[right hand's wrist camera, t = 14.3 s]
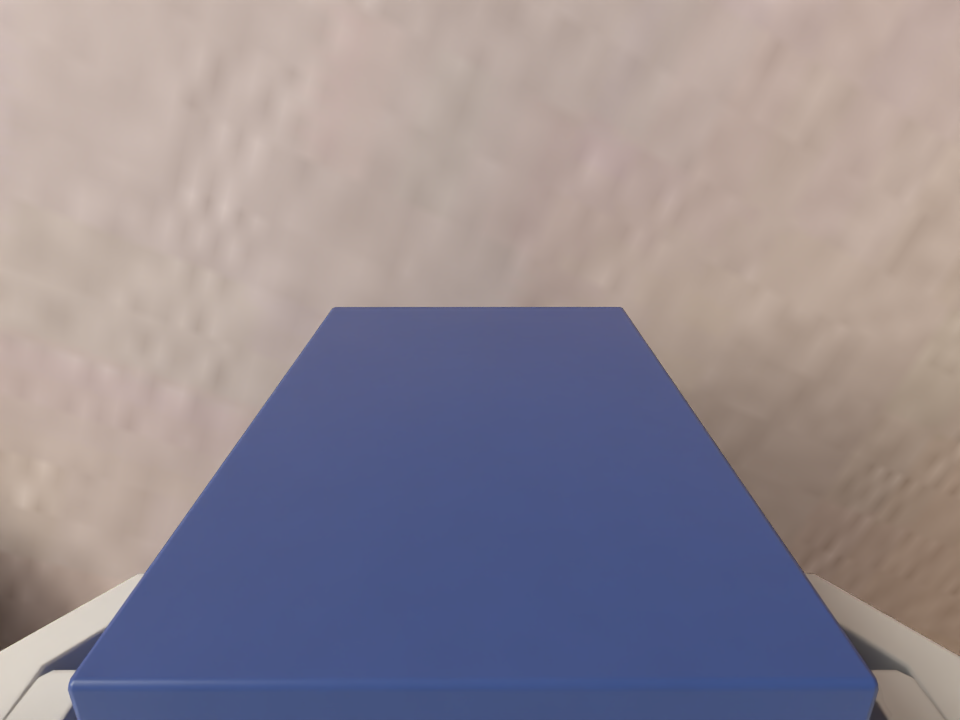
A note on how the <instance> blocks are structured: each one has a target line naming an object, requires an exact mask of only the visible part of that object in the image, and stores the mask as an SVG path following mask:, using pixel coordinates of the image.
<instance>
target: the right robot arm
mask: <svg viewBox="0 0 960 720" xmlns="http://www.w3.org/2000/svg"><path fill="white" fill-rule="evenodd" d="M802 571H803V570H802ZM143 575H144V574H137V575H135V576H134V577H132V578H130V579H128V580H126V581H125V582H123V583H121V584H119V585H118V586H116V587H114V588H112V589H110V590H109V591H107V592H105V593H103V594H101V595H100V596H98V597H96V598H94V599H93V600H91V601H89V602H87V603H85V604H84V605H82V606H80V607H78V608H77V609H75V610H73V611H71V612H69V613H68V614H66V615H64V616H62V617H61V618H59V619H57V620H55V621H53V622H52V623H50V624H48V625H46V626H45V627H43V628H41V629H39V630H37V631H36V632H34V633H32V634H30V635H28V636H27V637H25V638H23V639H21V640H20V641H18V642H16V643H14V644H12V645H11V646H9V647H7V648H5V649H4V650H2V651H0V720H77V717H76V714H75V711H74V708H73V705H72V702H71V699H70V696H69V692H68V684H69V681H70V678H71V677H72V675H73V674H74V673H75V671H76V670H77V668H78V667H79V666H80V664H81V663H82V661H83V660H84V658H85V657H86V656H87V654H88V653H89V651H90V650H91V649H92V647H93V646H94V644H95V643H96V642H97V640H98V639H99V637H100V636H101V634H102V633H103V632H104V630H105V629H106V627H107V626H108V625H109V623H110V622H111V620H112V619H113V618H114V616H115V615H116V613H117V612H118V610H119V609H120V608H121V606H122V605H123V603H124V602H125V601H126V599H127V598H128V596H129V595H130V594H131V592H132V591H133V589H134V588H135V586H136V585H137V584H138V582H139V581H140V579H141V578H142V577H143ZM805 575H806V576H807V578H808V579H809V581H810V582H811V584H812V585H813V587H814V588H815V590H816V591H817V592H818V594H819V595H820V597H821V598H822V600H823V601H824V603H825V604H826V606H827V607H828V608H829V610H830V611H831V613H832V614H833V616H834V617H835V619H836V620H837V622H838V623H839V625H840V626H841V627H842V629H843V630H844V632H845V633H846V635H847V636H848V638H849V639H850V641H851V642H852V643H853V645H854V646H855V648H856V649H857V651H858V652H859V654H860V655H861V657H862V658H863V660H864V661H865V662H866V664H867V665H868V667H869V668H870V670H871V671H872V673H873V674H874V676H875V677H876V679H877V682H878V688H879V690H878V694H877V697H876V700H875V704H874V707H873V710H872V713H871V717H870V720H960V656H958V655H957V654H955V653H953V652H951V651H950V650H948V649H946V648H944V647H943V646H941V645H939V644H937V643H936V642H934V641H932V640H930V639H928V638H927V637H925V636H923V635H921V634H920V633H918V632H916V631H914V630H913V629H911V628H909V627H907V626H906V625H904V624H902V623H900V622H899V621H897V620H895V619H893V618H892V617H890V616H888V615H886V614H885V613H883V612H881V611H879V610H877V609H876V608H874V607H872V606H870V605H869V604H867V603H865V602H863V601H862V600H860V599H858V598H856V597H855V596H853V595H851V594H849V593H848V592H846V591H844V590H842V589H841V588H839V587H837V586H835V585H834V584H832V583H830V582H828V581H826V580H825V579H823V578H821V577H819V576H818V575H816V574H805Z"/></svg>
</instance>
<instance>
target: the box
mask: <svg viewBox="0 0 960 720" xmlns="http://www.w3.org/2000/svg"><path fill="white" fill-rule="evenodd" d="M878 690H879V688H878V682H877V679H876V677H875V676H874V674H873V673H872V671H871V670H870V668H869V667H868V665H867V664H866V662H865V661H864V660H863V658H862V657H861V655H860V654H859V652H858V651H857V649H856V648H855V646H854V645H853V643H852V642H851V641H850V639H849V638H848V636H847V635H846V633H845V632H844V630H843V629H842V627H841V626H840V625H839V623H838V622H837V620H836V619H835V617H834V616H833V614H832V613H831V611H830V610H829V608H828V607H827V606H826V604H825V603H824V601H823V600H822V598H821V597H820V595H819V594H818V592H817V591H816V590H815V588H814V587H813V585H812V584H811V582H810V581H809V579H808V578H807V576H806V575H805V573H804V572H803V571H802V569H801V568H800V566H799V565H798V563H797V562H796V560H795V559H794V557H793V556H792V554H791V553H790V552H789V550H788V549H787V547H786V546H785V544H784V543H783V541H782V540H781V538H780V537H779V536H778V534H777V533H776V531H775V530H774V528H773V527H772V525H771V524H770V522H769V521H768V519H767V518H766V517H765V515H764V514H763V512H762V511H761V509H760V508H759V506H758V505H757V503H756V502H755V501H754V499H753V498H752V496H751V495H750V493H749V492H748V490H747V489H746V487H745V486H744V484H743V483H742V482H741V480H740V479H739V477H738V476H737V474H736V473H735V471H734V470H733V468H732V467H731V466H730V464H729V463H728V461H727V460H726V458H725V457H724V455H723V454H722V452H721V451H720V449H719V448H718V447H717V445H716V444H715V442H714V441H713V439H712V438H711V436H710V435H709V433H708V432H707V431H706V429H705V428H704V426H703V425H702V423H701V422H700V420H699V419H698V417H697V416H696V414H695V413H694V412H693V410H692V409H691V407H690V406H689V404H688V403H687V401H686V400H685V398H684V397H683V396H682V394H681V393H680V391H679V390H678V388H677V387H676V385H675V384H674V382H673V381H672V379H671V378H670V377H669V375H668V374H667V372H666V371H665V369H664V368H663V366H662V365H661V363H660V362H659V361H658V359H657V358H656V356H655V355H654V353H653V352H652V350H651V349H650V347H649V346H648V344H647V343H646V342H645V340H644V339H643V337H642V336H641V334H640V333H639V331H638V330H637V328H636V327H635V326H634V324H633V323H632V321H631V320H630V318H629V317H628V315H627V314H626V312H625V311H624V309H623V308H621V307H335V308H332V310H331V311H330V313H329V314H328V315H327V317H326V318H325V320H324V321H323V323H322V324H321V325H320V327H319V328H318V330H317V331H316V332H315V334H314V335H313V337H312V338H311V339H310V341H309V342H308V344H307V345H306V347H305V348H304V349H303V351H302V352H301V354H300V355H299V356H298V358H297V359H296V361H295V362H294V363H293V365H292V366H291V368H290V369H289V371H288V372H287V373H286V375H285V376H284V378H283V379H282V380H281V382H280V383H279V385H278V386H277V387H276V389H275V390H274V392H273V393H272V395H271V396H270V397H269V399H268V400H267V402H266V403H265V404H264V406H263V407H262V409H261V410H260V411H259V413H258V414H257V416H256V417H255V419H254V420H253V421H252V423H251V424H250V426H249V427H248V428H247V430H246V431H245V433H244V434H243V435H242V437H241V438H240V440H239V441H238V442H237V444H236V445H235V447H234V448H233V450H232V451H231V452H230V454H229V455H228V457H227V458H226V459H225V461H224V462H223V464H222V465H221V466H220V468H219V469H218V471H217V472H216V474H215V475H214V476H213V478H212V479H211V481H210V482H209V483H208V485H207V486H206V488H205V489H204V490H203V492H202V493H201V495H200V496H199V498H198V499H197V500H196V502H195V503H194V505H193V506H192V507H191V509H190V510H189V512H188V513H187V514H186V516H185V517H184V519H183V520H182V522H181V523H180V524H179V526H178V527H177V529H176V530H175V531H174V533H173V534H172V536H171V537H170V538H169V540H168V541H167V543H166V544H165V546H164V547H163V548H162V550H161V551H160V553H159V554H158V555H157V557H156V558H155V560H154V561H153V562H152V564H151V565H150V567H149V568H148V570H147V571H146V572H145V574H144V575H143V577H142V578H141V579H140V581H139V582H138V584H137V585H136V586H135V588H134V589H133V591H132V592H131V594H130V595H129V596H128V598H127V599H126V601H125V602H124V603H123V605H122V606H121V608H120V609H119V610H118V612H117V613H116V615H115V616H114V618H113V619H112V620H111V622H110V623H109V625H108V626H107V627H106V629H105V630H104V632H103V633H102V634H101V636H100V637H99V639H98V640H97V642H96V643H95V644H94V646H93V647H92V649H91V650H90V651H89V653H88V654H87V656H86V657H85V658H84V660H83V661H82V663H81V664H80V666H79V667H78V668H77V670H76V671H75V673H74V674H73V675H72V677H71V678H70V681H69V684H68V692H69V696H70V699H71V702H72V705H73V708H74V711H75V714H76V717H77V720H870V717H871V713H872V710H873V707H874V704H875V700H876V697H877V694H878Z"/></svg>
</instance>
